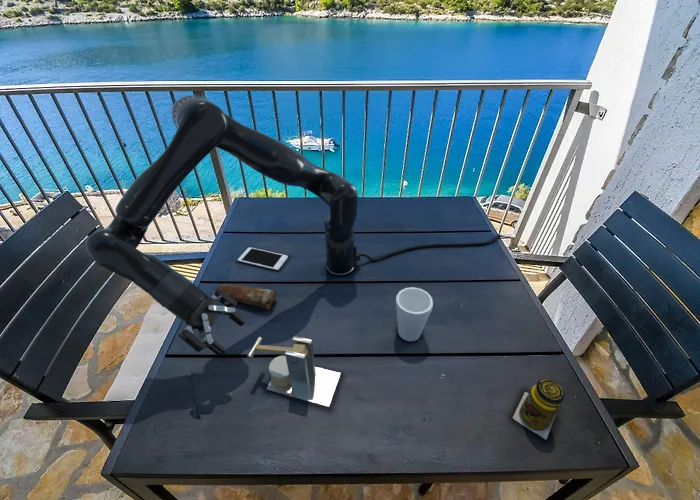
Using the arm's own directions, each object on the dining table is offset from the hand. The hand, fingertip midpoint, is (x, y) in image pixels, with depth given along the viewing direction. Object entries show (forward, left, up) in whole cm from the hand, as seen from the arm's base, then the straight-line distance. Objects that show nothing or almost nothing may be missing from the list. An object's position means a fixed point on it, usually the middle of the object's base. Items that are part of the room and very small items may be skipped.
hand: (234, 337), depth 82 cm
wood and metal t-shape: (-8, +8, -2) cm, 12 cm away
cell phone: (-18, -39, -12) cm, 45 cm away
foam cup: (-44, +12, -12) cm, 47 cm away
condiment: (-55, +45, -12) cm, 72 cm away
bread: (-7, -22, -12) cm, 26 cm away
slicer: (-12, +12, -12) cm, 20 cm away
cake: (-8, +8, -11) cm, 16 cm away
